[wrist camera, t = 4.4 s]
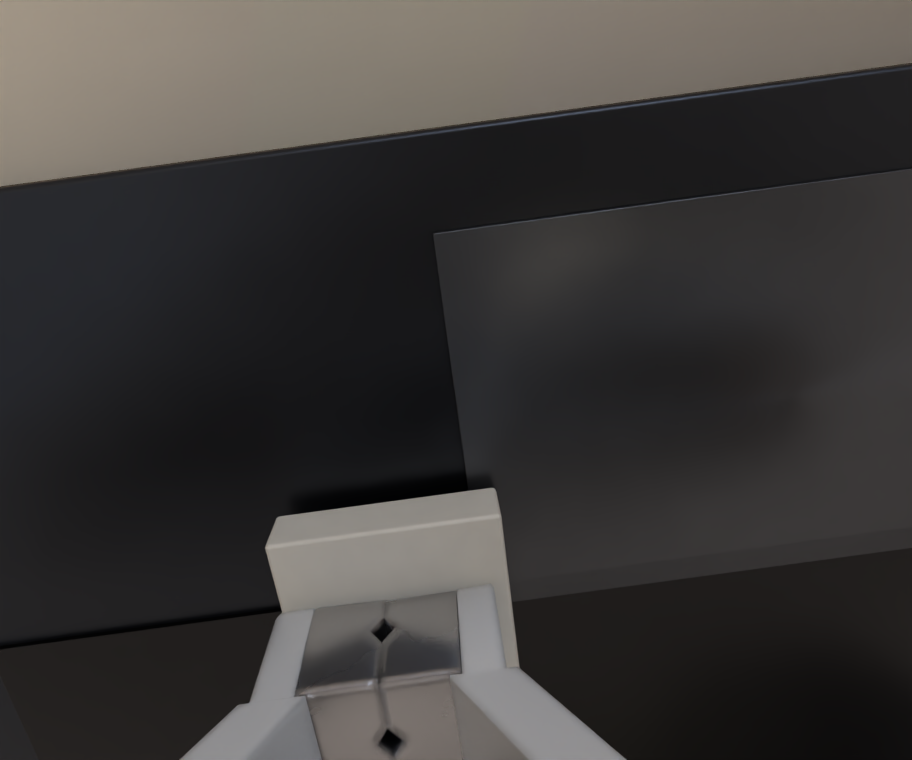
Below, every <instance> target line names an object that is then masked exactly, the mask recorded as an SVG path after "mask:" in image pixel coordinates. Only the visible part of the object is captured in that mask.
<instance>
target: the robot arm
mask: <svg viewBox="0 0 912 760" xmlns="http://www.w3.org/2000/svg"><path fill="white" fill-rule="evenodd" d="M180 760H626V759H625V758H624V757H623V756H622V755H620V754H619V753H618V752H617V751H616V750H615V749H613V748H612V747H611V746H610V745H609V744H608V743H606V742H605V741H604V740H603V739H602V738H601V737H599V736H598V735H597V734H596V733H595V732H594V731H592V730H591V729H590V728H589V727H588V726H587V725H585V724H584V723H583V722H582V721H581V720H580V719H578V718H577V717H576V716H575V715H574V714H573V713H571V712H570V711H569V710H568V709H567V708H566V707H564V706H563V705H562V704H561V703H560V702H559V701H557V700H556V699H555V698H554V697H553V696H552V695H550V694H549V693H548V692H547V691H546V690H545V689H543V688H542V687H541V686H540V685H539V684H538V683H536V682H535V681H534V680H533V679H532V678H531V677H529V676H528V675H527V674H526V673H525V672H524V671H522V670H521V669H520V668H519V667H510V668H507V666H506V660H505V654H504V647H503V641H502V635H501V629H500V623H499V616H498V610H497V604H496V598H495V591H494V587H493V586H492V584H485V585H479V586H473V587H467V588H461V589H457V591H450V592H443V593H436V594H429V595H422V596H415V597H408V598H400V599H393V600H381V601H372V602H363V603H354V604H346V605H337V606H328V607H319V608H317V609H314V608H312V609H305V610H297V611H289V612H282V613H281V614H280V615H279V616H278V617H277V619H276V620H275V623H274V626H273V630H272V633H271V636H270V639H269V642H268V645H267V648H266V652H265V655H264V658H263V661H262V664H261V667H260V671H259V674H258V677H257V680H256V683H255V686H254V689H253V693H252V696H251V699H250V702H249V703H246V704H240V705H237V706H236V707H235V708H234V709H233V710H232V711H231V712H230V713H229V714H228V715H227V716H226V717H224V718H223V719H222V720H221V721H220V722H219V723H218V724H217V725H216V726H215V727H214V728H213V729H212V730H211V731H210V732H209V733H207V734H206V735H205V736H204V737H203V738H202V739H201V740H200V741H199V742H198V743H197V744H196V745H195V746H194V747H193V748H191V749H190V750H189V751H188V752H187V753H186V754H185V755H184V756H183V757H182V758H181V759H180Z"/></svg>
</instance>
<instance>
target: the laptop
mask: <svg viewBox="0 0 912 760" xmlns="http://www.w3.org/2000/svg"><path fill="white" fill-rule="evenodd" d="M486 488H494V489H495V490H496V492H497V497H498V502H499V507H500V512H501V517H502V525H503V533H504V542H505V550H506V559H507V567H508V575H509V584H510V592H511V600H512V609H513V617H514V626H515V634H516V642H517V651H518V659H519V667H520V669H521V670H522V671H524V672H525V673H526V674H527V675H528V676H529V677H531V678H532V679H533V680H534V681H535V682H536V683H538V684H539V685H540V686H541V687H542V688H543V689H545V690H546V691H547V692H548V693H549V694H550V695H552V696H553V697H554V698H555V699H556V700H557V701H559V702H560V703H561V704H562V705H563V706H564V707H566V708H567V709H568V710H569V711H570V712H571V713H573V714H574V715H575V716H576V717H577V718H578V719H580V720H581V721H582V722H583V723H584V724H585V725H587V726H588V727H589V728H590V729H591V730H592V731H594V732H595V733H596V734H597V735H598V736H599V737H601V738H602V739H603V740H604V741H605V742H606V743H608V744H609V745H610V746H611V747H612V748H613V749H615V750H616V751H617V752H618V753H619V754H620V755H622V756H623V757H624V758H625V759H626V760H912V63H909V64H901V65H894V66H886V67H879V68H872V69H864V70H857V71H850V72H842V73H835V74H827V75H820V76H813V77H805V78H798V79H791V80H783V81H776V82H768V83H761V84H754V85H746V86H739V87H732V88H724V89H717V90H709V91H702V92H695V93H687V94H680V95H673V96H665V97H658V98H650V99H643V100H636V101H628V102H621V103H614V104H606V105H599V106H591V107H584V108H577V109H569V110H562V111H555V112H547V113H540V114H532V115H525V116H518V117H510V118H503V119H496V120H488V121H481V122H473V123H466V124H459V125H451V126H444V127H437V128H429V129H422V130H414V131H407V132H400V133H392V134H385V135H377V136H370V137H363V138H355V139H348V140H341V141H333V142H326V143H318V144H311V145H304V146H296V147H289V148H282V149H274V150H267V151H259V152H252V153H245V154H237V155H230V156H223V157H215V158H208V159H200V160H193V161H186V162H178V163H171V164H164V165H156V166H149V167H141V168H134V169H127V170H119V171H112V172H105V173H97V174H90V175H82V176H75V177H68V178H60V179H53V180H46V181H38V182H31V183H23V184H16V185H9V186H1V187H0V760H180V759H181V758H182V757H183V756H184V755H185V754H186V753H187V752H188V751H189V750H190V749H191V748H193V747H194V746H195V745H196V744H197V743H198V742H199V741H200V740H201V739H202V738H203V737H204V736H205V735H206V734H207V733H209V732H210V731H211V730H212V729H213V728H214V727H215V726H216V725H217V724H218V723H219V722H220V721H221V720H222V719H223V718H224V717H226V716H227V715H228V714H229V713H230V712H231V711H232V710H233V709H234V708H235V707H236V706H237V705H240V704H246V703H249V702H250V699H251V696H252V693H253V689H254V686H255V683H256V680H257V677H258V674H259V671H260V667H261V664H262V661H263V658H264V655H265V652H266V648H267V645H268V642H269V639H270V636H271V633H272V630H273V626H274V623H275V620H276V619H277V617H278V616H279V615H280V614H281V613H282V610H281V606H280V602H279V599H278V595H277V591H276V587H275V583H274V580H273V576H272V572H271V568H270V565H269V561H268V557H267V553H266V550H265V547H266V543H267V541H268V538H269V536H270V533H271V531H272V528H273V526H274V523H275V521H276V518H278V517H280V516H287V515H294V514H301V513H309V512H316V511H323V510H331V509H338V508H346V507H353V506H360V505H368V504H375V503H382V502H390V501H397V500H405V499H412V498H419V497H427V496H434V495H441V494H449V493H456V492H464V491H471V490H478V489H486Z"/></svg>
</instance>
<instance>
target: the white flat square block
mask: <svg viewBox="0 0 912 760" xmlns="http://www.w3.org/2000/svg"><path fill="white" fill-rule="evenodd" d="M265 550H266V553H267V557H268V561H269V565H270V568H271V572H272V576H273V580H274V583H275V587H276V591H277V595H278V599H279V602H280V606H281V610H282V612H289V611H297V610H305V609H312V608H314V609H317V608H319V607H328V606H337V605H346V604H354V603H363V602H372V601H381V600H393V599H400V598H408V597H415V596H422V595H429V594H436V593H443V592H450V591H457V589H461V588H467V587H473V586H479V585H485V584H492V586H493V587H494V591H495V598H496V604H497V610H498V616H499V623H500V629H501V635H502V641H503V647H504V654H505V660H506V666H507V668H510V667H519V659H518V651H517V642H516V634H515V626H514V617H513V609H512V600H511V592H510V584H509V575H508V567H507V559H506V550H505V542H504V533H503V525H502V517H501V512H500V507H499V502H498V497H497V492H496V490H495V489H494V488H486V489H478V490H471V491H464V492H456V493H449V494H441V495H434V496H427V497H419V498H412V499H405V500H397V501H390V502H382V503H375V504H368V505H360V506H353V507H346V508H338V509H331V510H323V511H316V512H309V513H301V514H294V515H287V516H280V517H278V518H276V521H275V523H274V526H273V528H272V531H271V533H270V536H269V538H268V541H267V543H266V547H265ZM519 668H520V667H519Z"/></svg>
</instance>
